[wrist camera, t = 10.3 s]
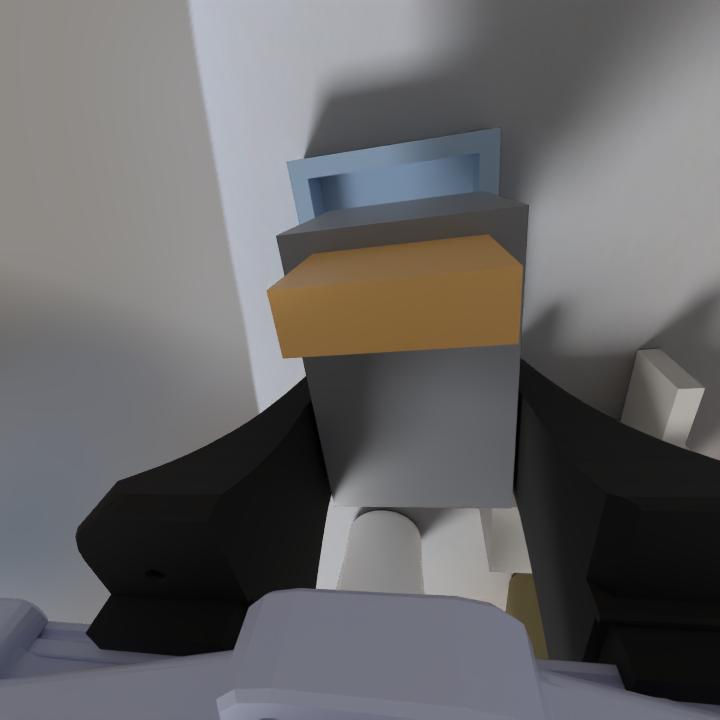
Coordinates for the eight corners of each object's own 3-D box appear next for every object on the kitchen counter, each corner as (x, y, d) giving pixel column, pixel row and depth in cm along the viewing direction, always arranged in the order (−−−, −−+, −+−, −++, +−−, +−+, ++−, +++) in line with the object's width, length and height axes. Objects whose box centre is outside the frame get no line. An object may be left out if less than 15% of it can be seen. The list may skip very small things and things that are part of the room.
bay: (686, 347, 19) (787, 425, 14) (643, 483, 23) (707, 581, 18) (476, 358, 21) (495, 431, 15) (474, 483, 25) (489, 571, 20)
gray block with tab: (481, 399, 14) (540, 613, 7) (359, 404, 15) (310, 600, 8) (483, 190, 11) (588, 223, 4) (330, 210, 12) (213, 265, 5)
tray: (489, 128, 15) (501, 127, 13) (484, 353, 20) (492, 378, 18) (303, 158, 17) (286, 161, 15) (341, 361, 22) (333, 386, 20)
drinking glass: (369, 485, 27) (322, 809, 14) (449, 525, 28) (477, 863, 15) (326, 533, 30) (257, 830, 17) (399, 568, 31) (386, 873, 18)
